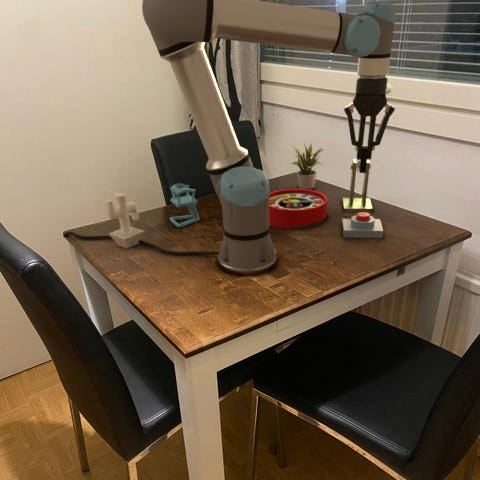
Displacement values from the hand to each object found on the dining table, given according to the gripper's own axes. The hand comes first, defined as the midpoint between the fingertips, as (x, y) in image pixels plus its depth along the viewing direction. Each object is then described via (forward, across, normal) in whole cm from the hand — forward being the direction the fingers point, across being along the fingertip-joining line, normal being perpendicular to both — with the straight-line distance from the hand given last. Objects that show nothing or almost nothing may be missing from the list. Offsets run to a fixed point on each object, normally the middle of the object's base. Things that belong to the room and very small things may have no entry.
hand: (362, 171), depth 135 cm
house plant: (+18, +15, -36) cm, 43 cm away
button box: (+17, -2, +1) cm, 17 cm away
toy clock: (+18, +19, -10) cm, 28 cm away
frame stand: (+17, -1, -20) cm, 27 cm away
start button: (+14, -1, +1) cm, 14 cm away
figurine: (+18, +65, +13) cm, 69 cm away
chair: (+18, +52, -5) cm, 56 cm away
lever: (+2, -1, -16) cm, 16 cm away
